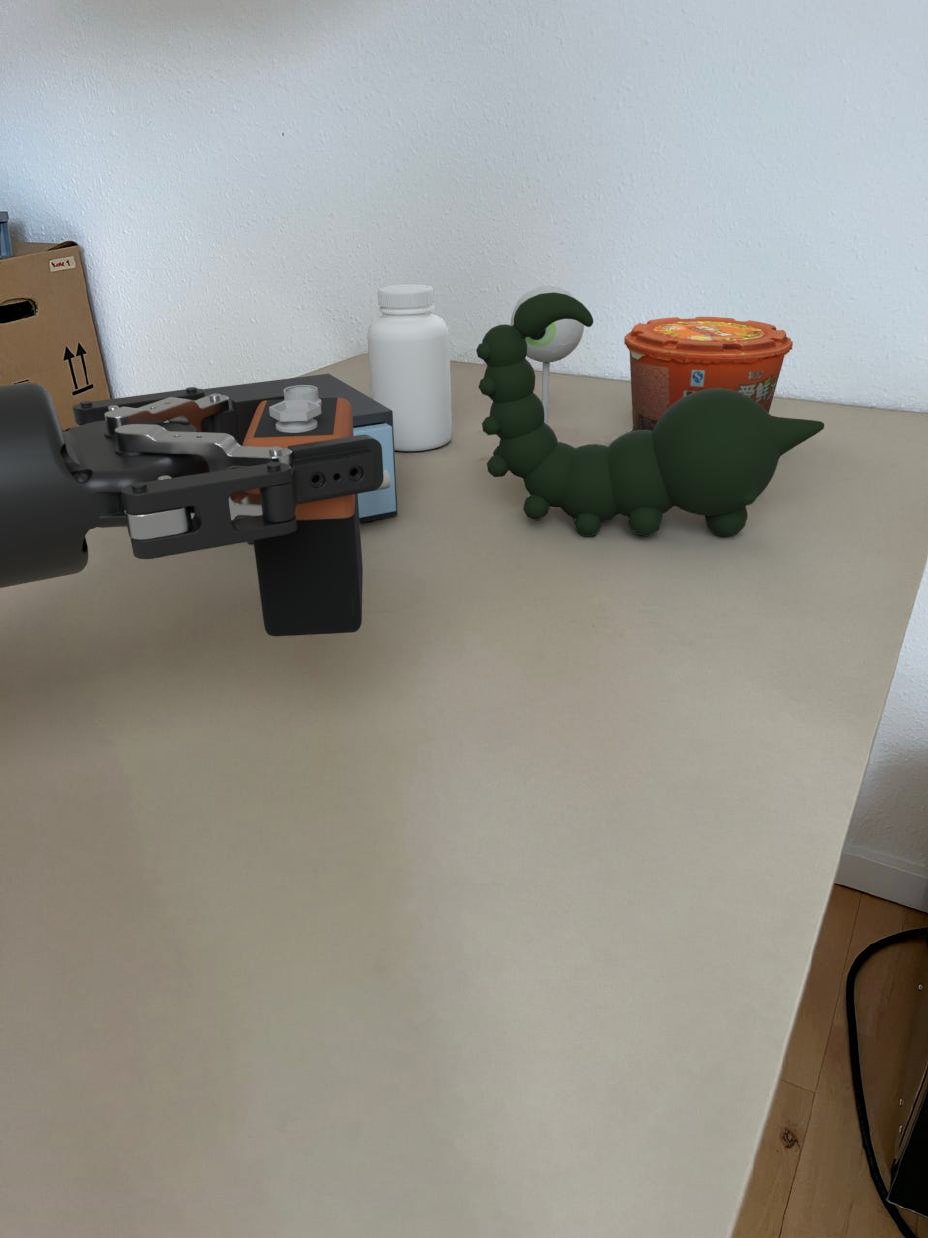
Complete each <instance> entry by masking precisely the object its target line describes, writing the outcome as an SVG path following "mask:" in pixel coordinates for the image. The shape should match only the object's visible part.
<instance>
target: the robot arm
mask: <svg viewBox="0 0 928 1238" xmlns="http://www.w3.org/2000/svg"><path fill="white" fill-rule="evenodd" d="M204 389H205V388H199V387H196V386H190V387H186V388H185V389H178V390H170V391H163V392H155V393H147V394H139V395H132V396H124V397H117V398H107V399H101V400H93V401H92V400H82V401H80V402H79V403H76V404H74V405H72V411H73V417H74V422H75V426H72V427H68V428H66V429H62V426H61V422H60V419H59V416H58V413H57V409H56V407H55V404H54V403H55V402H54V401H53V398H52V397H51V395H50V393H49V391H48V390H47V388H45V387H44V386H43V385H41V384H39V383H36V382H22V383H14V384H13V383H12V384H5V385H0V589H2V588H8V587H13V586H18V585H19V586H20V585H24V584H28V583H29V584H30V583H34V582H39V581H44V580H49V579H54V578H61V577H65V576H70V575H75V574H78V573H81V572H82V571H83V570H84V569H85V568H86V566H87V565H88V563H89V547H88V543H87V537H86V535H87V534H88V533H89V531H90V530H94V529H97V528H100V529H106V528H126V529H127V533H128V537H129V538H130V543H131V548H132V554H133V557H135V558H136V559H139V560H154V559H159V558H164V557H165V558H166V557H170V556H175V555H181V554H186V553H192V552H197V551H198V552H199V551H204V550H208V549H214V548H219V547H224V546H225V547H227V546H230V545H235V544H242V543H247V542H248V541H253V540H259V539H264V538H270V537H275V536H281V535H286V534H290V533H293V532H294V531H296V530H297V523H296V516H295V513H296V512H297V504H303V503H309V502H314V501H320V500H325V499H331V498H336V497H342V496H347V495H353V494H358V493H364V492H369V491H374V490H377V489H378V488H379V487H380V486H381V485H382V483H383V479H384V476H383V457H382V446H381V444H380V442H379V441H378V440H376V439H375V438H373V437H372V436H370V435H367V434H363V435H357V436H350V437H344V438H337V439H331V440H324V441H318V442H311V443H305V444H298V445H292V446H288V448H282V447H278V446H275V447H252V446H242V445H243V442H244V439H245V437H246V434H247V432H248V429H249V427H250V424H251V422H252V419H253V417H254V414H255V412H256V409H257V407H258V406H259V404H260V403H261V402H262V401H266V400H280V399H284V392H281V393H273V394H265V395H258V396H250V397H243V398H235V399H231V403H232V404H229V398H228V396H225V395H220V394H210V395H209V396H206V395H205V390H204ZM239 467H242V468H239ZM256 488H259V490H260V494H249V493H246V492H245V491H244V490H250V489H256ZM239 515H249V516H254V517H248V518H242V519H236V518H237V517H238V516H239ZM235 519H236V520H235Z"/></svg>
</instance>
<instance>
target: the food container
mask: <svg viewBox="0 0 928 1238" xmlns="http://www.w3.org/2000/svg"><path fill="white" fill-rule="evenodd" d="M623 340H624V343H623V344H624V346H626V348H627V350H628V351H629V371H630V389H631V390H630V392H631V394H630V395H631V409H632V410H631V414H632V431H636V430H651V431H653V429H654V427H655V425H656V423H657V422H658V420H659V419H660V417H661V416H662V415H663V414H664V412H665V411H666V410H667V409H668V408H669V407H670V406H672V405H673V404H674V403H675V402H677V401H678V400H679V399H681V398H683V397H685V396H687V395H689V394H691V393H694V392H697V391H701V390H704V389H711V388H723V389H729V390H733V391H737V392H740V393H742V394H744V395H746V396H748V397H750V398H752V399H753V400H755V401H756V402H757V403H759V404H760V405H761V406H762V407H763V408H764V409H765V410H766V411H767V412H768V413H769V414H770V410H771V407H772V404H773V403H772V402H773V399H774V395H775V392H776V388H777V386H778V385H777V384H778V382H779V377H780V374H781V371H782V367H783V363H784V359H785V356H786V355H788V354H789V353H790V352H791V350H793V345H794V342H793V341H792V338H791V337H788V336H787V332H786V331H785V330H784V329H777V327H776V325H774V324H771V323H766V322H761V321H757V320H745V321H744V320H743V321H742V320H736V319H735V318H733V317H722V316H721V317H719V316H696V317H695V318H680V317H677V316H675V317H663V318H655V319H650V320H647V322H646V323H642V322H638V323H637V324H635V325H633V327H632V328H631V331H629V332H628V333H626V335H625V336H624V338H623ZM788 356H790V355H788Z"/></svg>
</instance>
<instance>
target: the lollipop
mask: <svg viewBox="0 0 928 1238" xmlns="http://www.w3.org/2000/svg"><path fill="white" fill-rule="evenodd" d="M553 292H555V293H561V294H566V295H569V296H571V297H573V298H575V299H576V300H578V299H577V298H576V297H575V296H574V294H572V293H571V292H570V291H569V290H567V289H566V288H563V287H561V286H556V285H550V284H547V285H540V286H537V287H533V288H532V289H530V290H528V291H527V292H525V293H524V294H523V295H521V296H520V297H519V299H518V300H517V302H516V304H515V306H514V307H513V311H512V314H511V317H510V325H511V326H513V324H514V315H515V312H516V310H517V309H518V307H519V306H520V304H522V303H523V302H524V301H526V300H527V299H529V298H531V297H534V296H536V295H539V294H543V293H553ZM584 331H585V325H583V324H582V323H580V322H578V321H577V320H573V319H562V320H558V321H555V322H553V323H552V324H550V325H549V326H548V327H547V328H546V329H545V330H544V331H542V332H541V333H539V334H537V335H535V336H532V337H526V338H525V339H526V342H527V355H526V358H529V359H531V360H532V361H535V362H538V363H542V373H541V375H542V376H541V378H542V379H541V402H542V404H543V407H544V417H545V420H544V423H546V424H547V425H548V426H549V403H550V401H549V397H550V368H551V367H550V366H551V363H555V362H557V361H558V362H559V361H561V360H563V359H565V358H566V357H568V356H569V355H570V354H571V353H573V352H574V351H575V349H576V348H577V347H578V345H579V344H580V343H581V341H582V338H583V335H584Z"/></svg>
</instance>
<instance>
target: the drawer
mask: <svg viewBox="0 0 928 1238" xmlns="http://www.w3.org/2000/svg"><path fill="white" fill-rule="evenodd" d="M353 433H354V436H357V435H363V434H367V435H370V436H372V437H373V438H375V439H376V440H378V441H379V442H380V444H381V446H382V457H383V476H384V479H383V483H382V485H381V486H380V487H379V488H378V489H377V490H374V491H369V492H364V493H358V506H359V518H362V517H367V516H372V515H378V514H383V513H388V512H393V511H396V498H395V478H394V458H393V438H392V427H391V426H390V425H388V424H386V423H385V424H378V425H372V424H366V425H359V426H353Z"/></svg>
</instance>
